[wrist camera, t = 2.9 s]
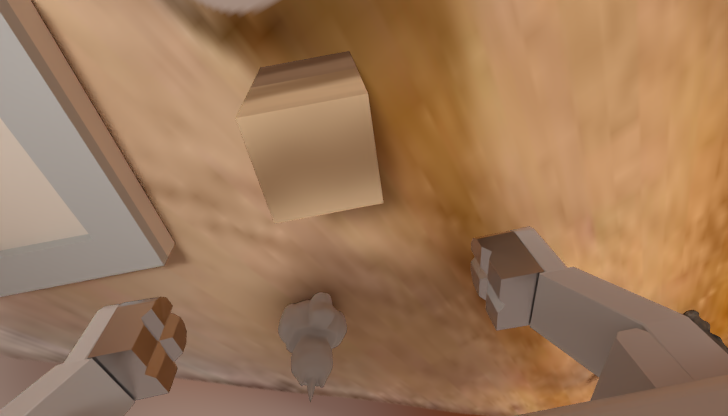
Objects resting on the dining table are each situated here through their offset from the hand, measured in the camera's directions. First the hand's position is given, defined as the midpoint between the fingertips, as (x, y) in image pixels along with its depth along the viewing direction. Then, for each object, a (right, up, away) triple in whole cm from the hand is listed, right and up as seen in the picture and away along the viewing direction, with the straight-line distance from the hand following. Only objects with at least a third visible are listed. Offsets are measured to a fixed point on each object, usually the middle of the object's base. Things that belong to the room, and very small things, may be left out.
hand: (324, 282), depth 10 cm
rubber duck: (-3, -6, +21) cm, 23 cm away
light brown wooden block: (-2, +8, +12) cm, 14 cm away
